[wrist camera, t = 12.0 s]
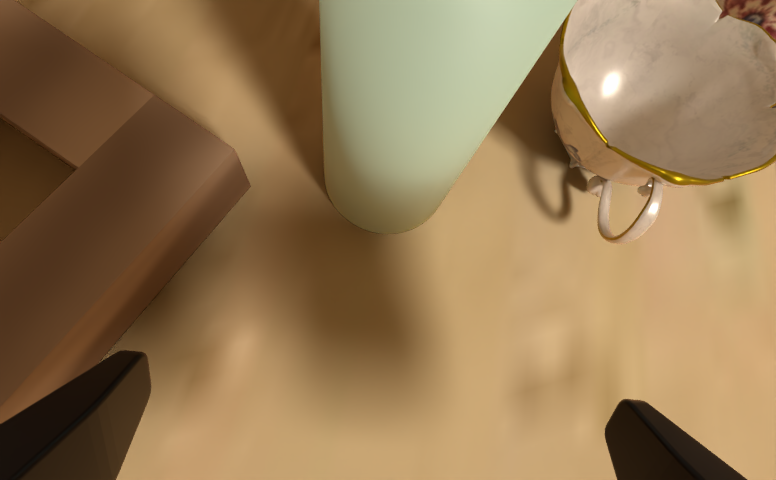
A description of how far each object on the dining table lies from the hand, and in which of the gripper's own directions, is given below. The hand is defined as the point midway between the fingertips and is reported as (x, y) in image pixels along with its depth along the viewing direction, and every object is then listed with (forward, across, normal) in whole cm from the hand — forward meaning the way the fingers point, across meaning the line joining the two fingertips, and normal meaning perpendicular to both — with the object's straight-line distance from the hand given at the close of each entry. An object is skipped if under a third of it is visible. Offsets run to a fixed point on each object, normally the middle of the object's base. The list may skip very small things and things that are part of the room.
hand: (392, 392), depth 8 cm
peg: (+11, 0, 0) cm, 11 cm away
